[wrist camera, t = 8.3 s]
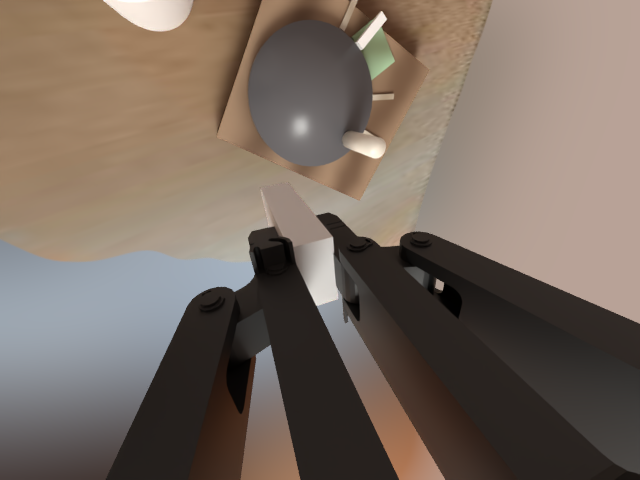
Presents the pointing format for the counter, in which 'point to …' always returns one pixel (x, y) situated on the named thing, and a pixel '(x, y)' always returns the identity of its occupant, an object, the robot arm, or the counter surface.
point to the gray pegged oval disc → (314, 93)
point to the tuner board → (387, 83)
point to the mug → (153, 12)
